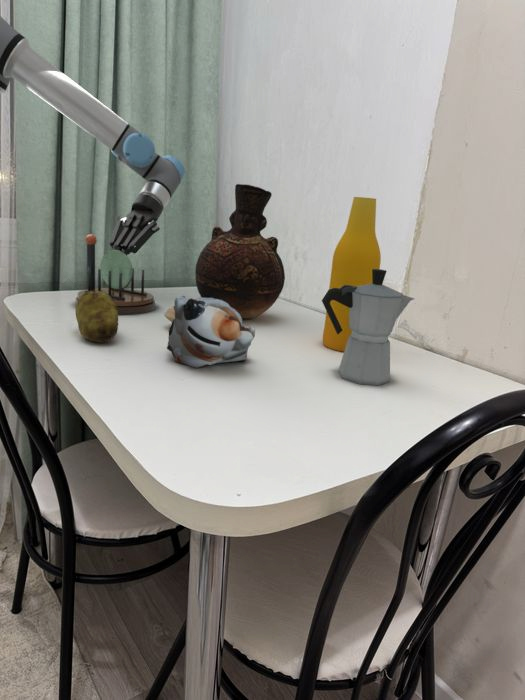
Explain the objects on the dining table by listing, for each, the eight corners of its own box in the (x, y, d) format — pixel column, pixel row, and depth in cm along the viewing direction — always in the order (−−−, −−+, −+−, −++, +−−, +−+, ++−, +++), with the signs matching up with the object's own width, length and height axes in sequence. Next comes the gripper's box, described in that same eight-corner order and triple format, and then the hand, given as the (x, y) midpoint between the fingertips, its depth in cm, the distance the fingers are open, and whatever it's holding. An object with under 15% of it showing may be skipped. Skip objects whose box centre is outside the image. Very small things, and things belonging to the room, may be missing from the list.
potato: (66, 345, 87) (65, 299, 85) (79, 326, 99) (79, 286, 97) (116, 347, 89) (116, 302, 86) (123, 328, 101) (123, 289, 99)
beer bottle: (313, 344, 102) (330, 194, 94) (337, 337, 109) (356, 197, 101) (352, 356, 96) (375, 197, 88) (375, 348, 103) (398, 200, 95)
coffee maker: (393, 370, 90) (410, 268, 85) (408, 388, 81) (428, 276, 76) (309, 364, 89) (322, 261, 84) (317, 381, 80) (331, 268, 75)
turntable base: (58, 305, 115) (58, 298, 115) (112, 295, 131) (112, 289, 131) (121, 318, 109) (121, 311, 108) (169, 306, 124) (170, 300, 124)
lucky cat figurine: (258, 354, 91) (276, 295, 81) (228, 398, 82) (245, 338, 73) (185, 320, 93) (195, 258, 84) (149, 359, 85) (155, 295, 75)
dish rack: (59, 297, 115) (58, 234, 111) (111, 288, 130) (111, 233, 126) (121, 309, 109) (121, 243, 105) (167, 299, 124) (169, 240, 120)
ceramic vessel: (182, 318, 114) (188, 178, 106) (204, 304, 130) (211, 183, 122) (273, 329, 111) (287, 186, 102) (285, 314, 127) (297, 190, 119)
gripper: (176, 216, 137) (136, 283, 127) (136, 211, 142) (95, 276, 131) (165, 194, 131) (122, 263, 120) (124, 190, 135) (80, 257, 125)
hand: (108, 270), depth 126 cm, fingers closed
